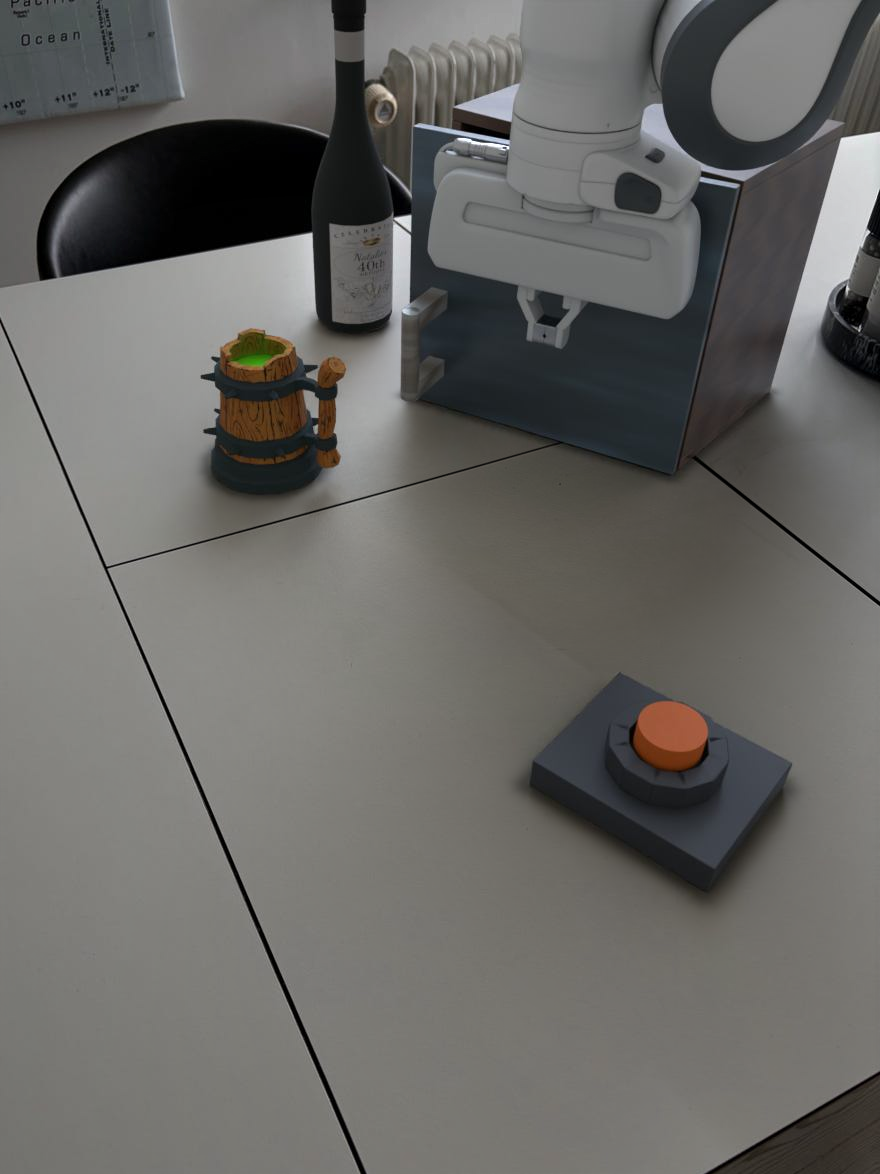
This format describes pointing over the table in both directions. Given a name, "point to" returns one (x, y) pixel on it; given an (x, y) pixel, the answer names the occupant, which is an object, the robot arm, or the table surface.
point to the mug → (271, 415)
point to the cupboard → (730, 263)
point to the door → (547, 374)
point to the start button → (670, 736)
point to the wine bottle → (352, 197)
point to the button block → (660, 784)
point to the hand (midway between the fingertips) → (546, 342)
